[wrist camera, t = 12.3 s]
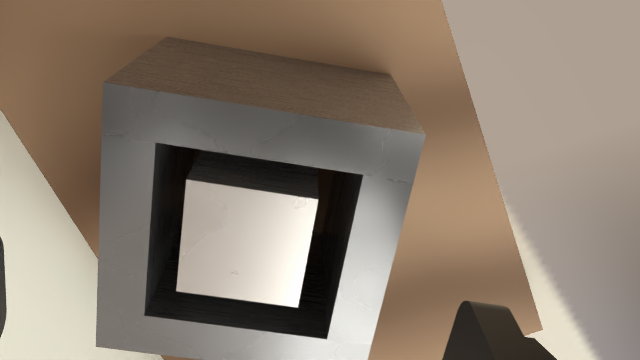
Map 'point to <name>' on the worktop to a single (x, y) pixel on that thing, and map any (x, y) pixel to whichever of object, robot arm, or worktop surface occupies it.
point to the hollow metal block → (263, 143)
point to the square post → (247, 228)
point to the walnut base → (426, 195)
